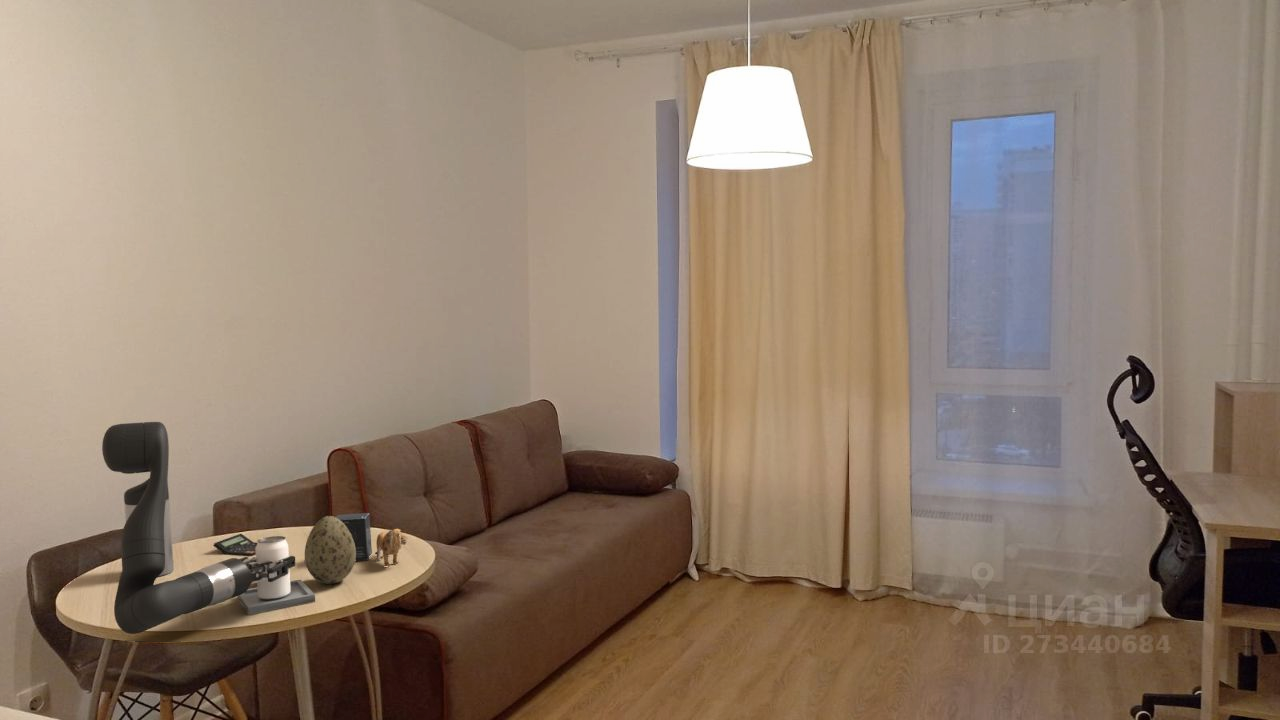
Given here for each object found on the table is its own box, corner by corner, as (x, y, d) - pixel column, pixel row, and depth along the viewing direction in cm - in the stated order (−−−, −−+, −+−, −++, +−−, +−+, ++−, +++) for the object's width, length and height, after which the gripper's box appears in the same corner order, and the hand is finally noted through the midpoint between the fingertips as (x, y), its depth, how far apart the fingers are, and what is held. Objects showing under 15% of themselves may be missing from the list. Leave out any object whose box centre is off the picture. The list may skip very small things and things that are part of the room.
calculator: (251, 557, 228) (250, 545, 228) (213, 554, 232) (213, 542, 231) (277, 547, 237) (276, 535, 237) (240, 544, 241) (239, 533, 240)
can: (279, 600, 190) (276, 542, 189) (251, 599, 191) (248, 542, 191) (297, 591, 196) (294, 535, 196) (269, 590, 198) (266, 535, 197)
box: (372, 554, 226) (369, 512, 226) (367, 561, 221) (365, 517, 220) (339, 556, 226) (337, 514, 225) (334, 563, 220) (331, 519, 219)
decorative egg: (333, 573, 212) (329, 509, 211) (367, 578, 207) (364, 513, 206) (295, 586, 202) (291, 519, 201) (330, 593, 197) (327, 524, 196)
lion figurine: (411, 566, 216) (410, 528, 215) (390, 571, 212) (388, 532, 212) (385, 553, 227) (383, 518, 226) (364, 558, 223) (362, 521, 223)
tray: (248, 614, 185) (248, 607, 185) (237, 597, 196) (237, 591, 196) (315, 601, 192) (314, 594, 192) (300, 586, 203) (300, 579, 203)
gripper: (246, 567, 177) (308, 544, 193) (190, 560, 182) (256, 539, 198) (248, 605, 177) (310, 579, 193) (193, 597, 183) (257, 573, 199)
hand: (282, 559), depth 196 cm, fingers closed on can, 5 cm apart
